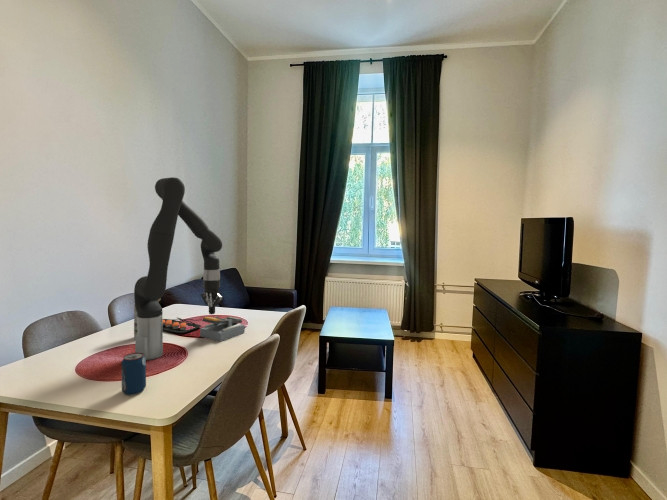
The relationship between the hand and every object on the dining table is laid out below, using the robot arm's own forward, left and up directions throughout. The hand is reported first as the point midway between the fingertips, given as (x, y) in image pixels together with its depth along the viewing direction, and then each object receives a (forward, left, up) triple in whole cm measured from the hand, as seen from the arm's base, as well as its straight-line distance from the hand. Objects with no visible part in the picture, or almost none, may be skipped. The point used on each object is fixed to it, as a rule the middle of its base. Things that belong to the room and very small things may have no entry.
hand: (212, 313), depth 165 cm
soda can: (-50, -19, -12) cm, 55 cm away
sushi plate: (+8, +31, -13) cm, 35 cm away
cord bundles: (+7, 0, -8) cm, 11 cm away
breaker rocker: (+7, 0, -5) cm, 9 cm away
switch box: (+7, 0, -12) cm, 14 cm away
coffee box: (-15, +28, -12) cm, 34 cm away
